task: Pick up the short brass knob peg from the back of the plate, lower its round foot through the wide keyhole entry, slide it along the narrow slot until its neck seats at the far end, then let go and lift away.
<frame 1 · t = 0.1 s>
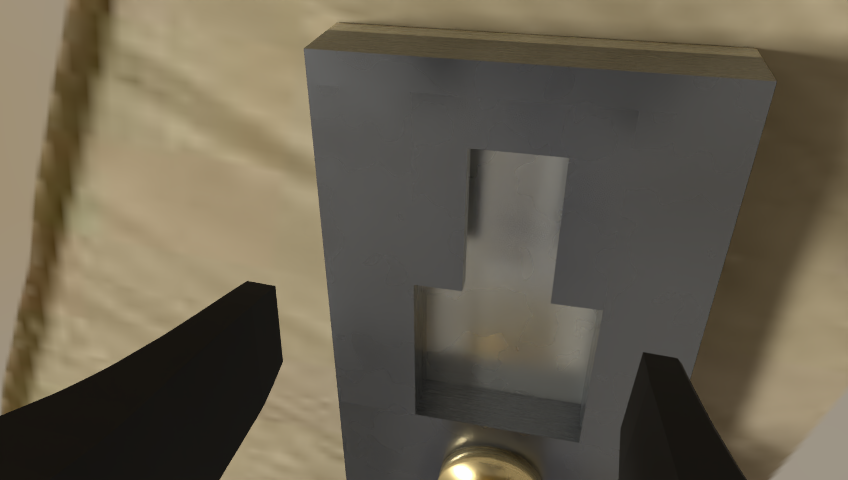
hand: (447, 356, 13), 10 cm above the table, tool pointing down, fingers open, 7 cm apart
keyhole plate: (509, 318, 25), on the table
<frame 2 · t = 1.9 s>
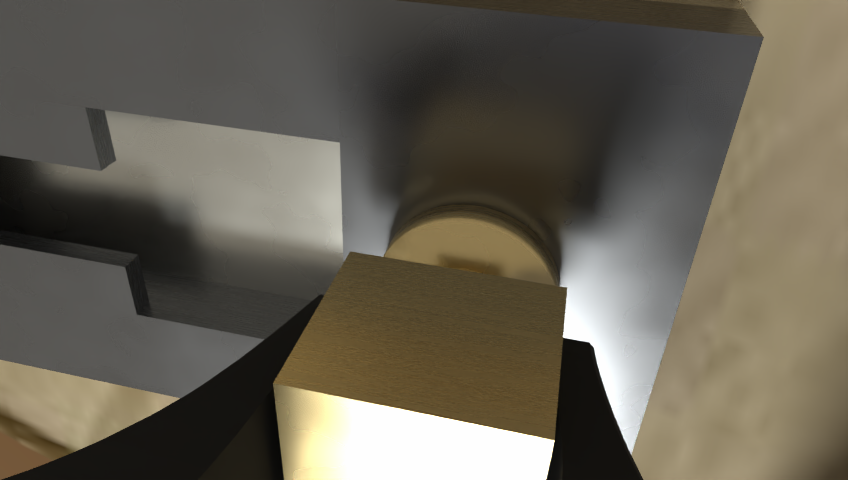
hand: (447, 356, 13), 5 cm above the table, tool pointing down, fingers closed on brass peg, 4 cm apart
keyhole plate: (270, 188, 18), on the table
brass peg: (469, 281, 15), point 3 cm above the table, touching gripper, keyhole plate
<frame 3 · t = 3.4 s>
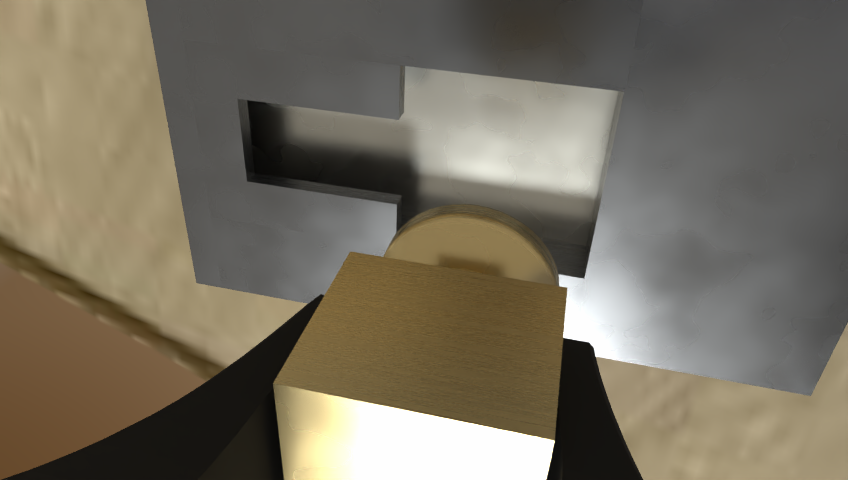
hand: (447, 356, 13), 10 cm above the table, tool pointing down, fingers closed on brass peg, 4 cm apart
keyhole plate: (508, 140, 22), on the table
brass peg: (469, 281, 15), point 8 cm above the table, touching gripper
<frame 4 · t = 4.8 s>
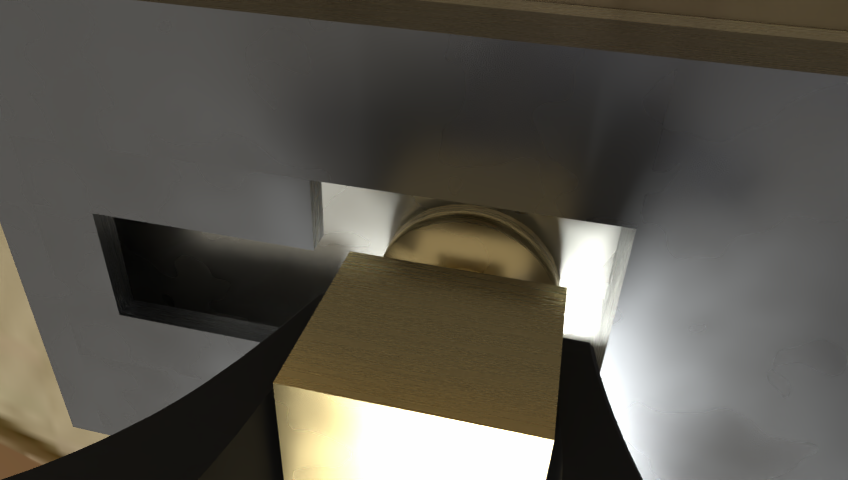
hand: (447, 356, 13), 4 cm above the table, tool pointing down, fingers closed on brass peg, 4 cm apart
keyhole plate: (476, 258, 16), on the table
brass peg: (469, 281, 15), point 1 cm above the table, touching gripper
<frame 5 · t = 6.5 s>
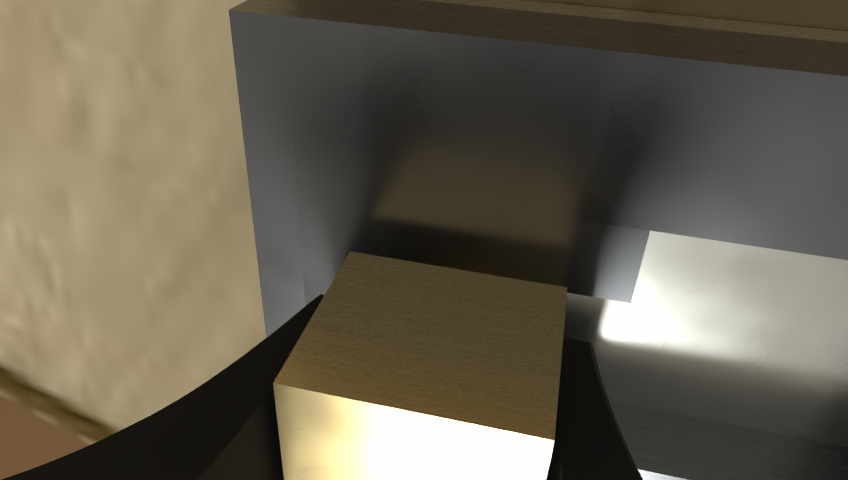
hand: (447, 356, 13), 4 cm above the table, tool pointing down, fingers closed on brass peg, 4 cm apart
keyhole plate: (752, 302, 15), on the table
brass peg: (469, 281, 15), point 1 cm above the table, touching gripper
when the fingers open (3 cm above the table, at t = 7.9 s): brass peg stays where it is, resting on keyhole plate.
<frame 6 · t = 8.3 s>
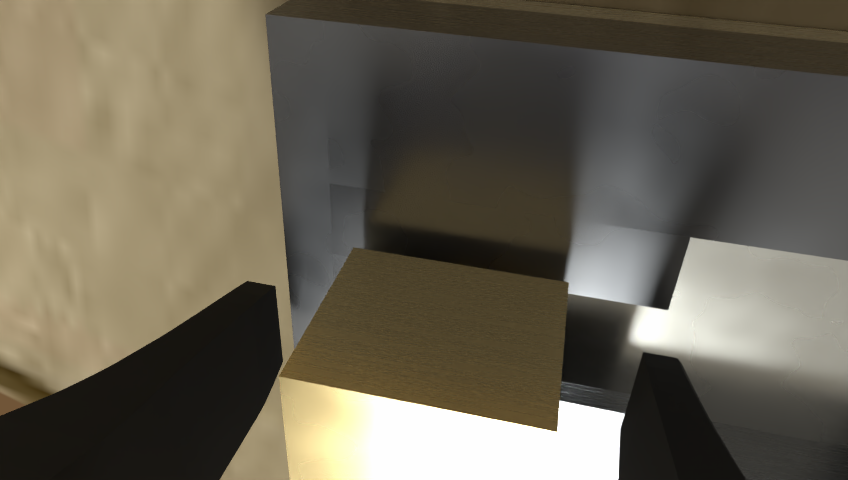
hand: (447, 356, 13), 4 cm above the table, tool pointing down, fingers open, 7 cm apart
keyhole plate: (784, 308, 15), on the table
brass peg: (471, 277, 15), point 1 cm above the table, touching keyhole plate
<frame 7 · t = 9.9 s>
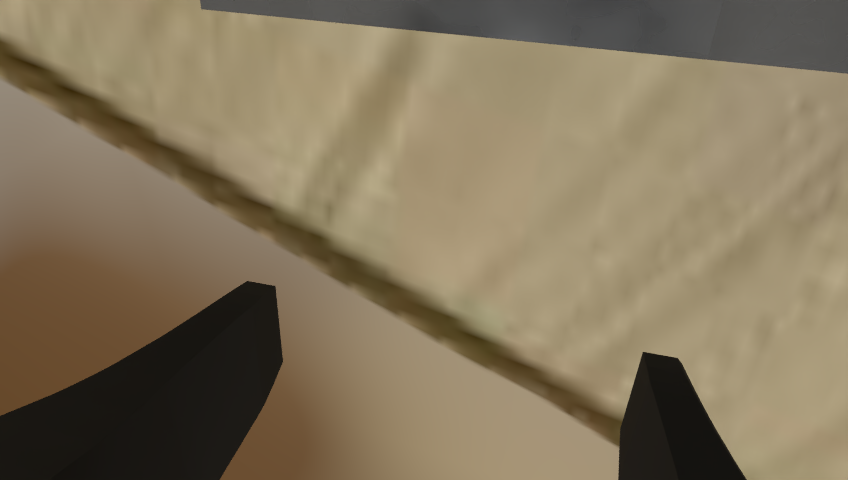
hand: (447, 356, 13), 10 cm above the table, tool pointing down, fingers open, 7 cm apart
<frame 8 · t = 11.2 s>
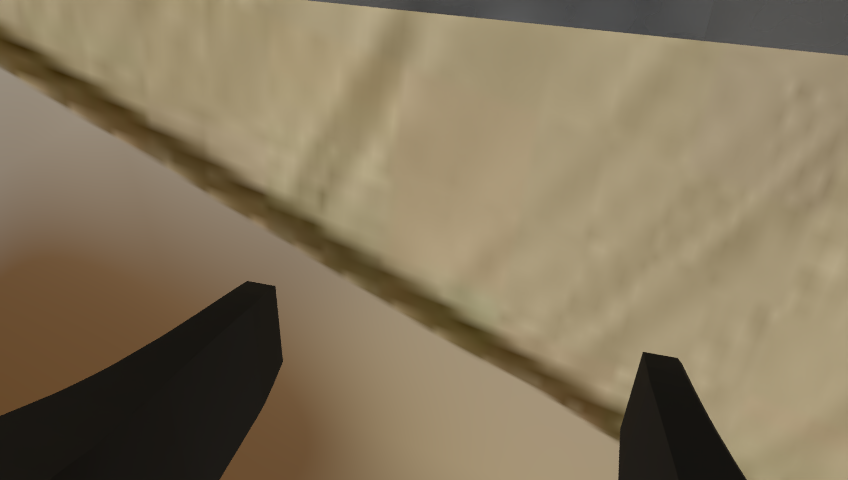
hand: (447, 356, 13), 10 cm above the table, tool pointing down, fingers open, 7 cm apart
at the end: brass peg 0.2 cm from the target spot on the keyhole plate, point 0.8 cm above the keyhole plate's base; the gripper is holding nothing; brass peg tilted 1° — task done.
